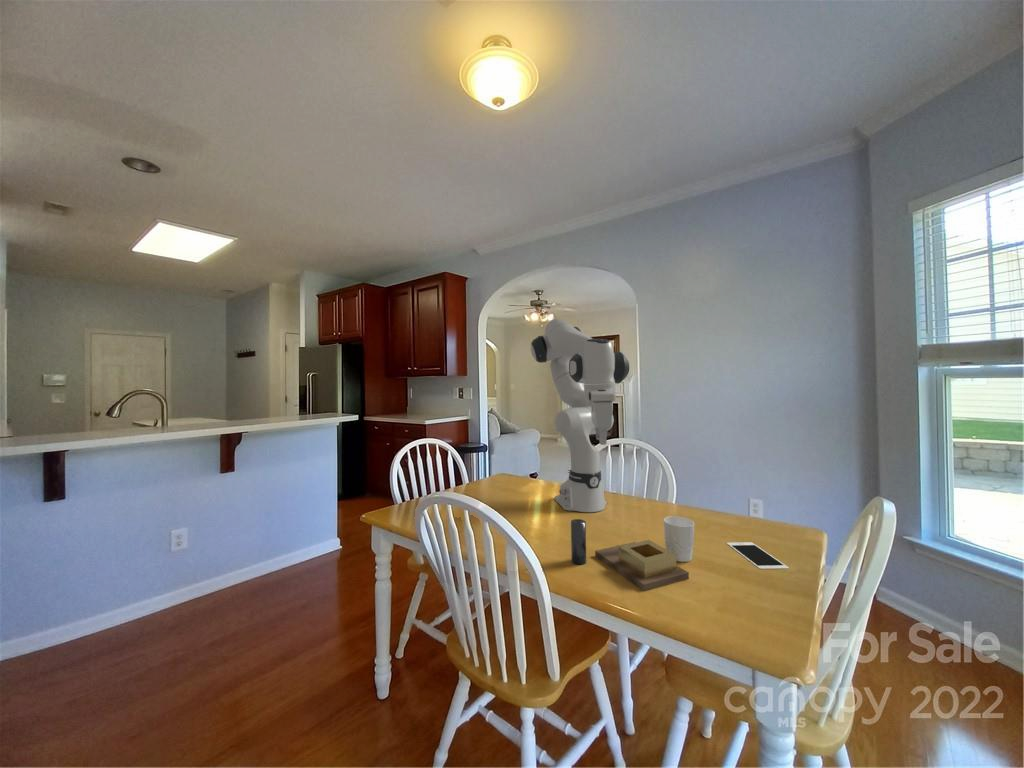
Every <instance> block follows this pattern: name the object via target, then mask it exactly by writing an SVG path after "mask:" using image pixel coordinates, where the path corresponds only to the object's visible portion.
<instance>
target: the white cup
mask: <svg viewBox="0 0 1024 768" xmlns="http://www.w3.org/2000/svg"><path fill="white" fill-rule="evenodd" d="M663 529H664V531H663V532H664V545H665V549H666V550H668V551H670V552H672V553H674V554H676V562H680V563H687V562H688V563H689V562H691V561H692V560H693V549H694V539H695V535H694V534H695V521H693V519H690V518H687V517H683V516H676V515H675V516H666V517H665V518H663Z"/></svg>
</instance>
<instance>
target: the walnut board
mask: <svg viewBox="0 0 1024 768" xmlns="http://www.w3.org/2000/svg"><path fill="white" fill-rule="evenodd" d="M632 543H637V541H636V542H635V541H633V542H628V543H624V544H620V545H619V544H618V545H616V546H611V547H606V548H601V549H597V550H595V551H594V556H595V557H596V558H597V559H599V560H600V561H602V562H603V563H604V564H606V565H607V566H608V567H610V568H612V569H613V570H614V571H616V572H617V573H619V574H620V575H621V576H623V577H624V578H625V579H627V580H628V581H629V582H631V583H632V584H634V585H635V586H636V587H638V588H639V589H641V590H642V591H645V592H646V591H648V590H652V589H655V588H659V587H663V586H666V585H670V584H674V583H677V582H681V581H684V580H685V581H686V580H689V579H690V573H689V571H687V570H685V569H684V568H682V567H680V566H678V565H676V571H673V572H669V573H665V574H661V575H658V576H654V577H650V578H646V579H644V578H643V577H641V576H640V575H638V574H637V573H635V572H634V571H632V570H631V569H629V568H628V567H626V566H625V565H624V564H622V563H621V562H619V546H623V545H627V544H632Z"/></svg>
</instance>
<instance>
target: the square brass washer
mask: <svg viewBox="0 0 1024 768" xmlns="http://www.w3.org/2000/svg"><path fill="white" fill-rule="evenodd" d="M631 543H632V544H628V543H626V544H627V545H624V544H622V545H623V546H619V545H618V546H619V562H621V563H622V564H624V565H625V566H626V567H628V568H629V569H631V570H632V571H634V572H635V573H637V574H638V575H640V576H641V577H643V578H644V579H646V578H650V577H654V576H658V575H661V574H665V573H669V572H673V571H676V566H677V561H676V554H674V553H672V552H670V551H668V550H666V548H664V547H663V546H661V545H659V544H657V543H655V542H653V541H651V540H650V539H647V540H642V541H638V542H637V541H636V543H633V542H631Z"/></svg>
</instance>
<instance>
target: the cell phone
mask: <svg viewBox="0 0 1024 768" xmlns="http://www.w3.org/2000/svg"><path fill="white" fill-rule="evenodd" d="M726 545H727V546H729V547H730V548H731V549H732V550H735V552H737V553H738V554H739V555H741V557H742V558H744V559H746V560H747V561H748V562H750V563H751V565H754V566H755V567H756V568H757V569H759V570H789V569H790V568H789V566H787V565H786V564H785V563H783V562H781V561H780V560H779V559H777V558H775V556H773V555H771V554H769V552H767V551H765V550H764V549H763V548H761V547H760V546H759V545H757V544H755V543H754V542H752V541H751V542H750V541H748V542H746V541H745V542H743V541H742V542H741V541H740V542H726Z"/></svg>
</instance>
